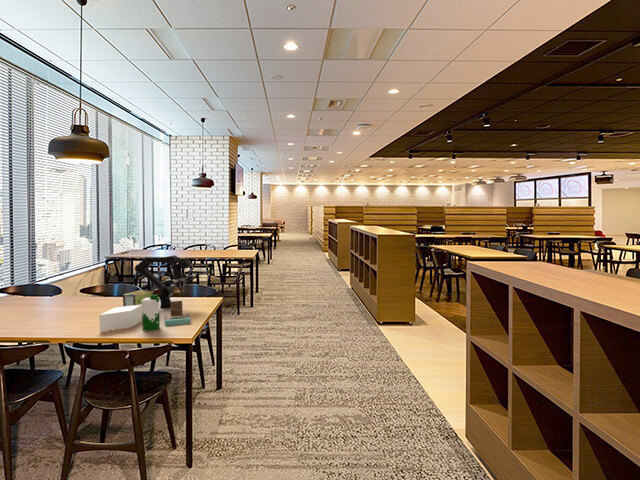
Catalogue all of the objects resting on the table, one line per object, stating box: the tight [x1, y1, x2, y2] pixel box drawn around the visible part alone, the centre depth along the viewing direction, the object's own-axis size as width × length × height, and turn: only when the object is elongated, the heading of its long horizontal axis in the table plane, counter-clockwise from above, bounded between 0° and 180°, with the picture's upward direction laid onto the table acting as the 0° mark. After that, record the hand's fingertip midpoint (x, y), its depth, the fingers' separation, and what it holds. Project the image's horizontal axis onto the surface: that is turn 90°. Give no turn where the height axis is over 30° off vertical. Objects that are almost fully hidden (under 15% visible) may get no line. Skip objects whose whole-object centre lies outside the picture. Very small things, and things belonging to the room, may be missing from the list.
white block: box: [98, 304, 142, 333], centre depth 237 cm, size 14×29×10 cm, turn 153°
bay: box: [164, 313, 191, 327], centre depth 246 cm, size 15×14×3 cm
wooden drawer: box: [168, 300, 184, 320], centre depth 248 cm, size 14×8×11 cm, turn 19°
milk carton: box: [141, 294, 161, 332], centre depth 230 cm, size 9×9×20 cm
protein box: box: [122, 289, 154, 307], centre depth 258 cm, size 10×15×16 cm
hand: (181, 292), depth 271 cm, fingers closed
